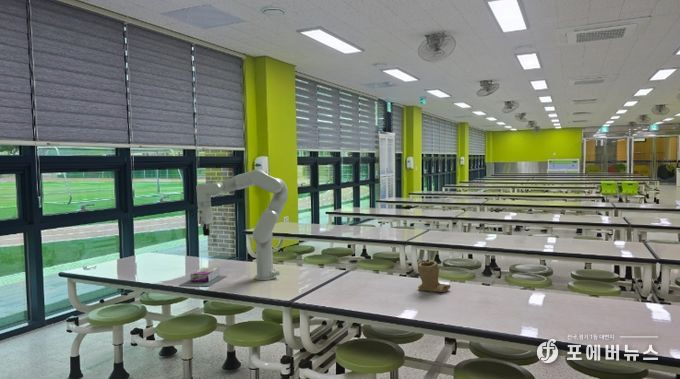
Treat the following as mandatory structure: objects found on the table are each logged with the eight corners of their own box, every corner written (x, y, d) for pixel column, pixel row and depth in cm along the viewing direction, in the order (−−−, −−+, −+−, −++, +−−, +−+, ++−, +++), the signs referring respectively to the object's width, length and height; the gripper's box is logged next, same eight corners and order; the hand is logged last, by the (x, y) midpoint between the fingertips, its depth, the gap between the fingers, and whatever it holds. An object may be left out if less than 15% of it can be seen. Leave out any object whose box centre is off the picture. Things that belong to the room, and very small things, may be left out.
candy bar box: (190, 273, 259) (202, 267, 275) (190, 282, 259) (203, 275, 275) (208, 273, 257) (220, 267, 273) (208, 282, 257) (220, 275, 273)
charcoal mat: (226, 276, 271) (226, 275, 271) (208, 286, 250) (208, 286, 250) (199, 276, 275) (199, 275, 275) (179, 286, 254) (179, 285, 254)
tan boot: (413, 292, 228) (413, 262, 227) (423, 286, 238) (422, 258, 237) (442, 296, 219) (442, 265, 218) (451, 289, 229) (450, 260, 228)
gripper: (204, 205, 255) (206, 237, 256) (216, 202, 270) (218, 233, 271) (192, 206, 256) (194, 237, 258) (204, 203, 271) (206, 233, 272)
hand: (206, 235), depth 264 cm, fingers closed
